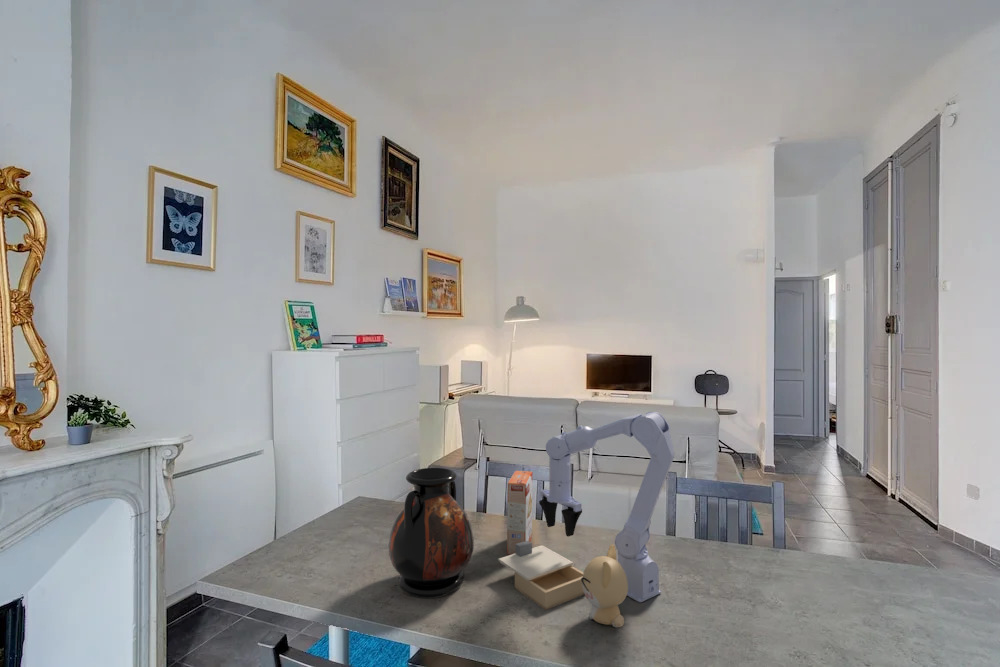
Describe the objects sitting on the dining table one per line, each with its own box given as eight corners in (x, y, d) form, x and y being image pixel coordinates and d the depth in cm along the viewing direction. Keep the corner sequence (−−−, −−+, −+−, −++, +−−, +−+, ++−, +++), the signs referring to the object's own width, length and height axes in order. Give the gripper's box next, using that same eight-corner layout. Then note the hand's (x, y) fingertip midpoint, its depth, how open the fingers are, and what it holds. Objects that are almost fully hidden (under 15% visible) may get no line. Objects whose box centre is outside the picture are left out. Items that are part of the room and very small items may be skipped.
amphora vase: (426, 557, 138) (425, 459, 139) (489, 576, 127) (489, 469, 127) (369, 591, 120) (369, 477, 120) (439, 616, 109) (438, 491, 109)
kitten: (589, 597, 116) (588, 535, 117) (632, 606, 113) (631, 541, 113) (575, 633, 102) (575, 561, 103) (623, 643, 99) (623, 570, 99)
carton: (589, 592, 119) (589, 575, 119) (545, 610, 111) (545, 592, 111) (557, 572, 129) (557, 557, 129) (514, 588, 121) (514, 572, 121)
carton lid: (573, 564, 124) (573, 552, 124) (528, 580, 116) (528, 567, 116) (541, 547, 135) (541, 535, 135) (498, 561, 126) (498, 548, 126)
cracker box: (527, 557, 138) (526, 483, 138) (506, 555, 139) (506, 482, 140) (533, 537, 152) (533, 470, 152) (514, 536, 153) (514, 469, 153)
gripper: (531, 476, 135) (532, 525, 135) (567, 489, 123) (567, 543, 123) (551, 472, 139) (551, 519, 139) (587, 484, 127) (587, 536, 127)
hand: (560, 530), depth 131 cm, fingers open, 7 cm apart
